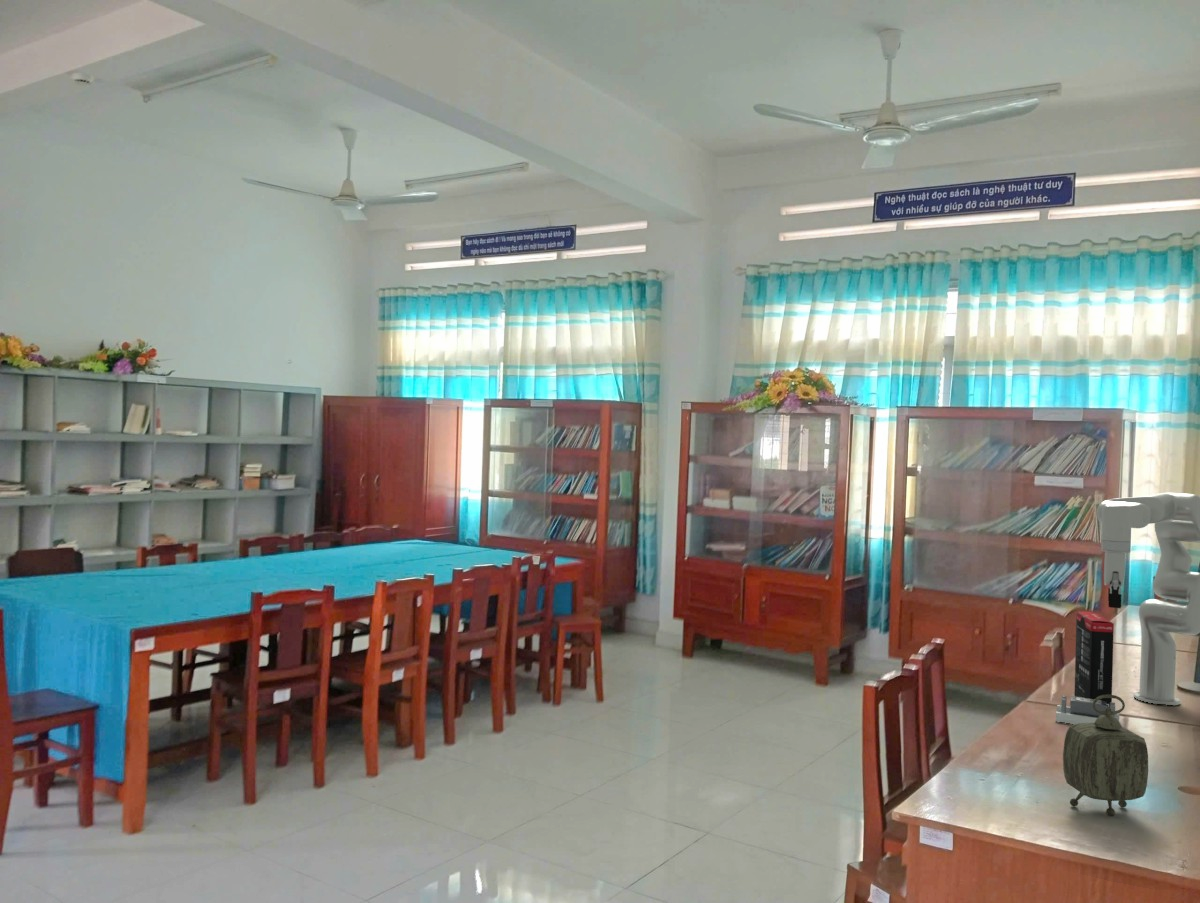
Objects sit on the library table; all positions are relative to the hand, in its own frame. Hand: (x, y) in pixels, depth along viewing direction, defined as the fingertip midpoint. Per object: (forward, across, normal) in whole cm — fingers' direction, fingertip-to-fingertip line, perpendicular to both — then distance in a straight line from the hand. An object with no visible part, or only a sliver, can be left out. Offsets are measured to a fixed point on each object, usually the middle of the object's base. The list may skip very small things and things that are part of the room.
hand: (1114, 604), depth 282 cm
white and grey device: (+32, +13, -6) cm, 35 cm away
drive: (+31, +13, -6) cm, 34 cm away
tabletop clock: (+30, +89, -2) cm, 94 cm away
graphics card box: (+33, -9, -5) cm, 35 cm away
